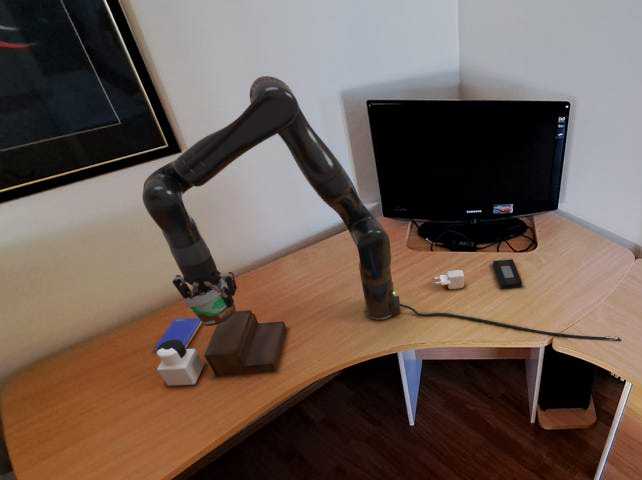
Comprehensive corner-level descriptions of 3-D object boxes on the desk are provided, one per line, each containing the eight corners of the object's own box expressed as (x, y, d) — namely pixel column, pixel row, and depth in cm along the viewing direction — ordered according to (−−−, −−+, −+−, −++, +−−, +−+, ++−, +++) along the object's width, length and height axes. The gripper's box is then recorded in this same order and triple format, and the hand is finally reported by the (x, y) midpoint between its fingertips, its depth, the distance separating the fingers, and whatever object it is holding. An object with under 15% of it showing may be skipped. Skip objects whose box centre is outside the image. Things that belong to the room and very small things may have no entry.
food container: (222, 331, 115) (202, 301, 109) (202, 330, 116) (181, 301, 110) (249, 300, 124) (233, 272, 118) (230, 299, 126) (213, 271, 119)
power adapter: (433, 292, 154) (432, 279, 150) (431, 284, 157) (430, 271, 154) (464, 289, 156) (465, 276, 152) (462, 280, 159) (462, 267, 156)
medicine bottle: (178, 365, 126) (160, 336, 118) (205, 364, 127) (188, 335, 119) (167, 386, 121) (147, 357, 113) (195, 385, 121) (176, 355, 113)
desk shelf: (286, 329, 138) (279, 308, 132) (275, 371, 126) (266, 350, 120) (232, 333, 136) (222, 312, 130) (215, 376, 124) (203, 355, 118)
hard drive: (174, 318, 138) (153, 347, 129) (201, 318, 138) (182, 347, 129) (176, 321, 139) (156, 351, 130) (203, 321, 139) (184, 351, 130)
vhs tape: (512, 263, 168) (512, 259, 167) (521, 287, 158) (522, 282, 156) (493, 265, 167) (493, 260, 166) (501, 289, 157) (501, 284, 155)
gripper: (154, 266, 104) (183, 318, 115) (219, 263, 106) (242, 314, 117) (166, 248, 109) (193, 299, 120) (228, 245, 111) (249, 295, 122)
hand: (217, 306), depth 118 cm, fingers closed on food container, 6 cm apart
